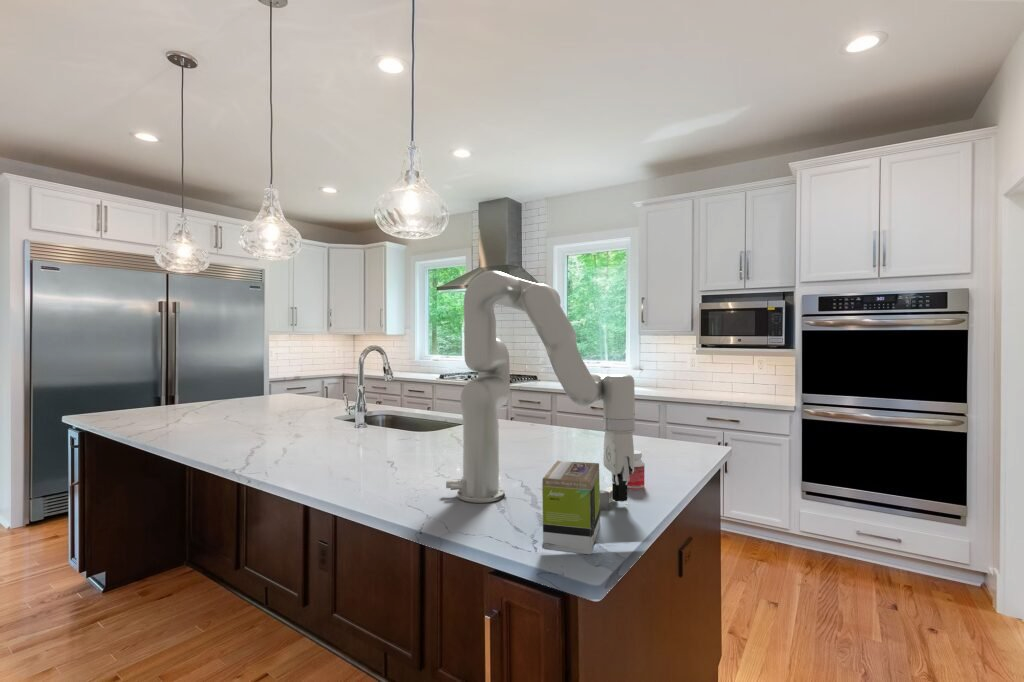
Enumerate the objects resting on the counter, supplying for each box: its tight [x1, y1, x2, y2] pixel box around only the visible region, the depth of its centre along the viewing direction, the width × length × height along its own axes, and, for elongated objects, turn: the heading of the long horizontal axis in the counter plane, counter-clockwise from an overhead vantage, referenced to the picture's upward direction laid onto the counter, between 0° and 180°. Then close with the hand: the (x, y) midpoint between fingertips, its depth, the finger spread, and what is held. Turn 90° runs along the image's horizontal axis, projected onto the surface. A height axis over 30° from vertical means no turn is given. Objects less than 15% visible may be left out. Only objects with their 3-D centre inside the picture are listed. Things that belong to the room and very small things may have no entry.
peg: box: [600, 485, 615, 511], centre depth 123 cm, size 9×3×4 cm, turn 147°
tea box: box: [541, 460, 601, 555], centre depth 106 cm, size 15×10×15 cm, turn 163°
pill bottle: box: [627, 449, 646, 491], centre depth 139 cm, size 6×6×11 cm
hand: (620, 499), depth 123 cm, fingers closed
